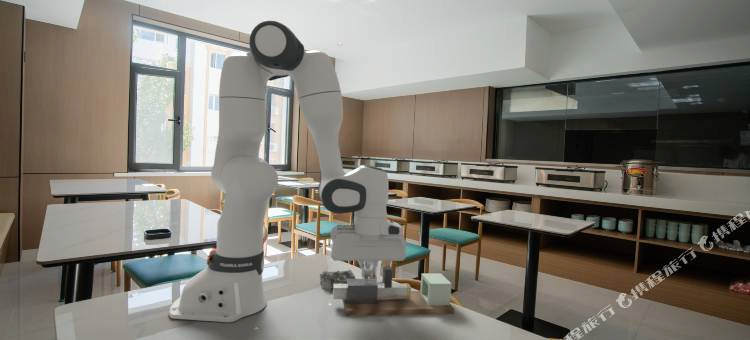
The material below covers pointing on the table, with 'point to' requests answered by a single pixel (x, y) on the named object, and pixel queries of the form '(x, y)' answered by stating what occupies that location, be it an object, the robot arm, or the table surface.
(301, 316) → the table surface
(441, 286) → the socket
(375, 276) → the beer glass
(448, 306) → the base board
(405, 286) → the light grey bar piece
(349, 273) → the egg carton
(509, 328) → the table surface
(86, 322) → the table surface
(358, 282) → the sleeve
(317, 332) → the table surface
